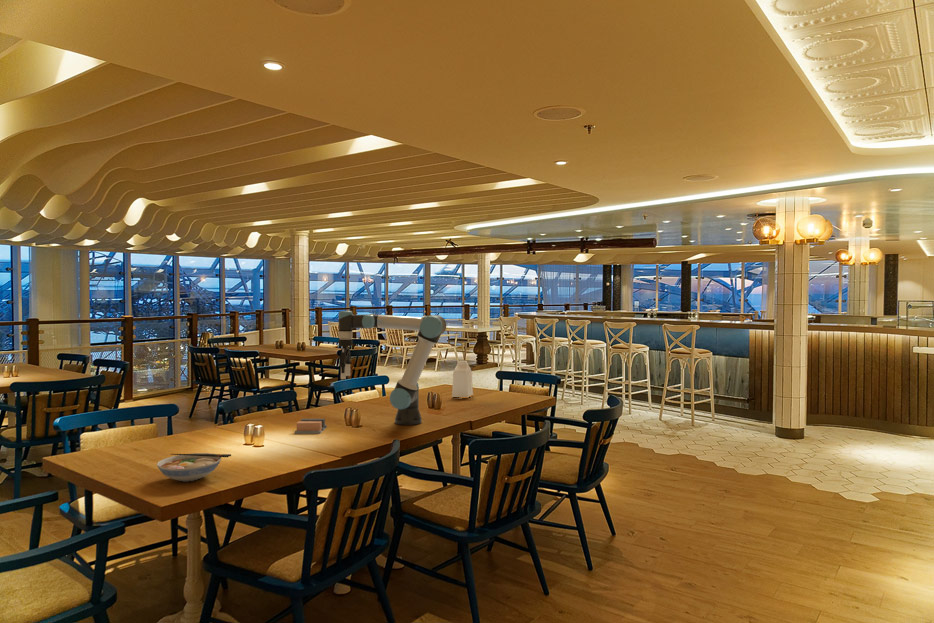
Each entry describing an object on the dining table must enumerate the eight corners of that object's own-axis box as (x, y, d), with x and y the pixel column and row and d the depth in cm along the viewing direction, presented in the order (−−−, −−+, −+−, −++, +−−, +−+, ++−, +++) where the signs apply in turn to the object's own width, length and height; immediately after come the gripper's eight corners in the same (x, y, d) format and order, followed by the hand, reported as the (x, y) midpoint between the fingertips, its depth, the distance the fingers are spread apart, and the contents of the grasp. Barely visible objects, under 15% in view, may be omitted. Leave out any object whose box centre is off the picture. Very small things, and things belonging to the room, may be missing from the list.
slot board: (326, 428, 319) (326, 424, 319) (320, 435, 303) (320, 431, 303) (302, 428, 319) (302, 424, 319) (294, 435, 303) (294, 431, 303)
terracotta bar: (321, 430, 310) (321, 421, 310) (320, 432, 306) (320, 422, 306) (298, 430, 310) (298, 421, 310) (296, 432, 306) (296, 422, 306)
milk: (451, 397, 422) (452, 361, 421) (457, 395, 433) (457, 359, 432) (468, 398, 418) (468, 362, 418) (473, 396, 429) (473, 360, 429)
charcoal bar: (325, 427, 317) (325, 418, 317) (323, 429, 313) (323, 420, 313) (302, 427, 317) (302, 418, 317) (300, 429, 313) (300, 420, 313)
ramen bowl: (140, 486, 220) (139, 464, 220) (179, 469, 243) (179, 449, 242) (201, 490, 216) (201, 468, 216) (235, 472, 239) (235, 452, 238)
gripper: (342, 337, 340) (342, 374, 340) (334, 340, 315) (334, 380, 315) (356, 337, 340) (356, 374, 340) (348, 340, 315) (348, 380, 315)
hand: (345, 377), depth 328 cm, fingers open, 13 cm apart
